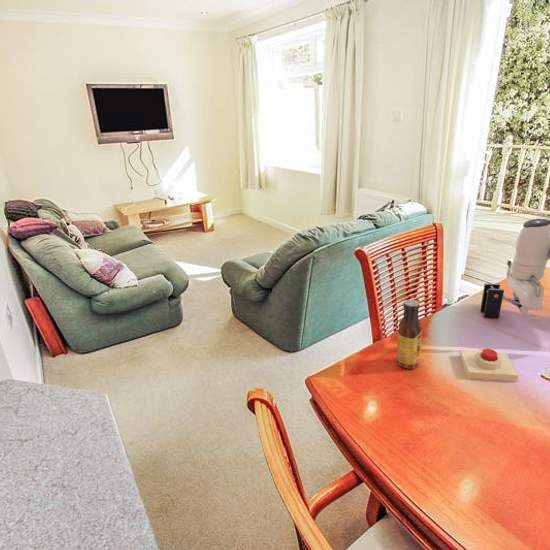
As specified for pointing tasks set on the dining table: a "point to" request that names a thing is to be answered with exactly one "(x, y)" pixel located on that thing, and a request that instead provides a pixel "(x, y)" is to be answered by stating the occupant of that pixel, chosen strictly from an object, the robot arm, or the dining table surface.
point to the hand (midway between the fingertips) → (519, 308)
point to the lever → (516, 303)
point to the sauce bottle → (409, 336)
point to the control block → (488, 366)
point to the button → (489, 355)
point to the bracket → (491, 301)
